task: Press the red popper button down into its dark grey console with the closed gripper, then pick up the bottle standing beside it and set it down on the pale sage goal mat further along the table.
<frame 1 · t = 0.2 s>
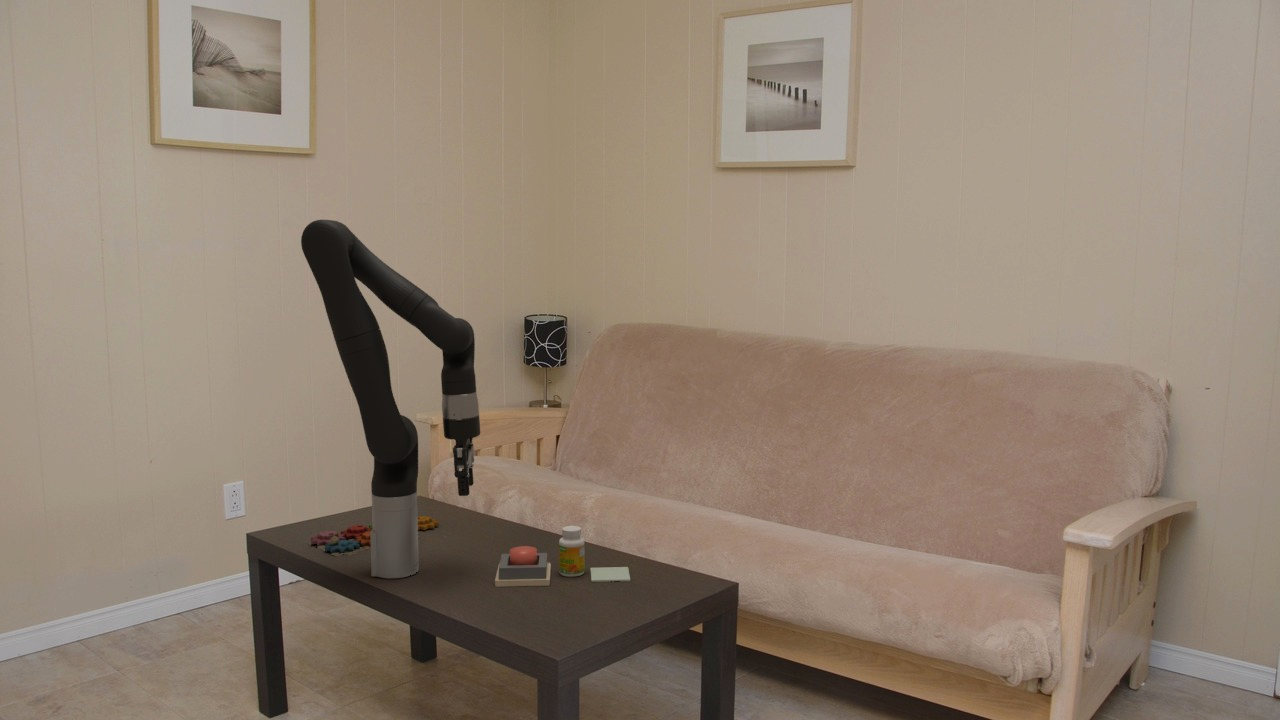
hand: (466, 490, 202), 17 cm above the table, tool pointing down, fingers open, 8 cm apart
dome button: (523, 557, 199), point 4 cm above the table, slide at 0.0 cm
gear puzzle: (382, 540, 228), on the table
supplement bottle: (571, 574, 203), on the table
dome console: (523, 577, 200), on the table
goal mat: (610, 575, 201), on the table
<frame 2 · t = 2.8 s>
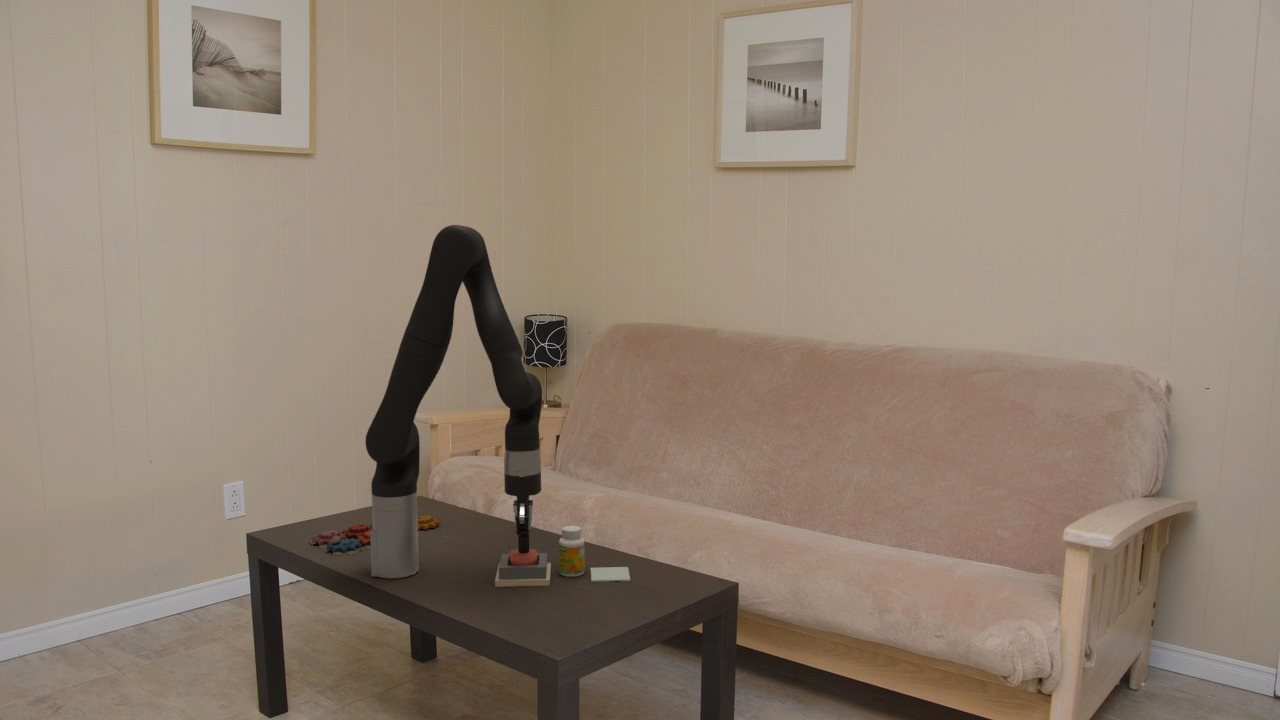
hand: (524, 552, 199), 5 cm above the table, tool pointing down, fingers closed
dome button: (523, 559, 199), point 4 cm above the table, slide at 0.5 cm, touching gripper
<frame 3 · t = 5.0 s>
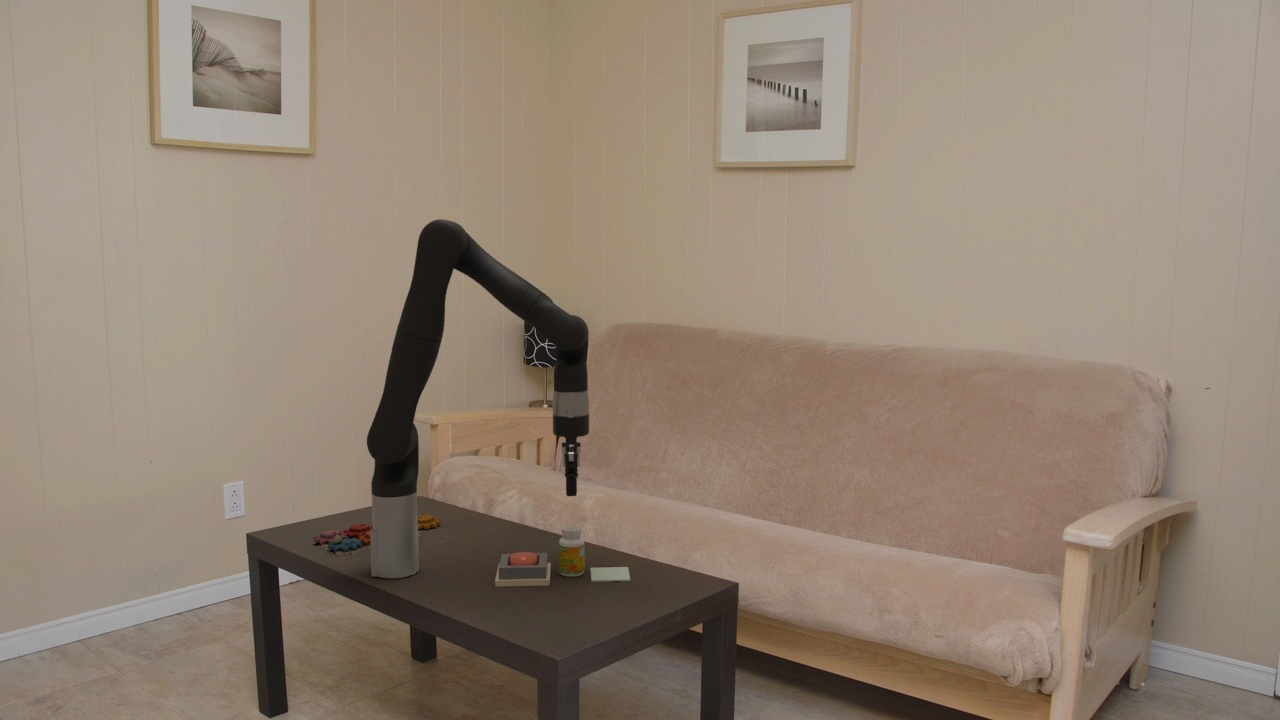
hand: (571, 493, 201), 17 cm above the table, tool pointing down, fingers open, 3 cm apart
dome button: (523, 562, 199), point 3 cm above the table, slide at 1.3 cm
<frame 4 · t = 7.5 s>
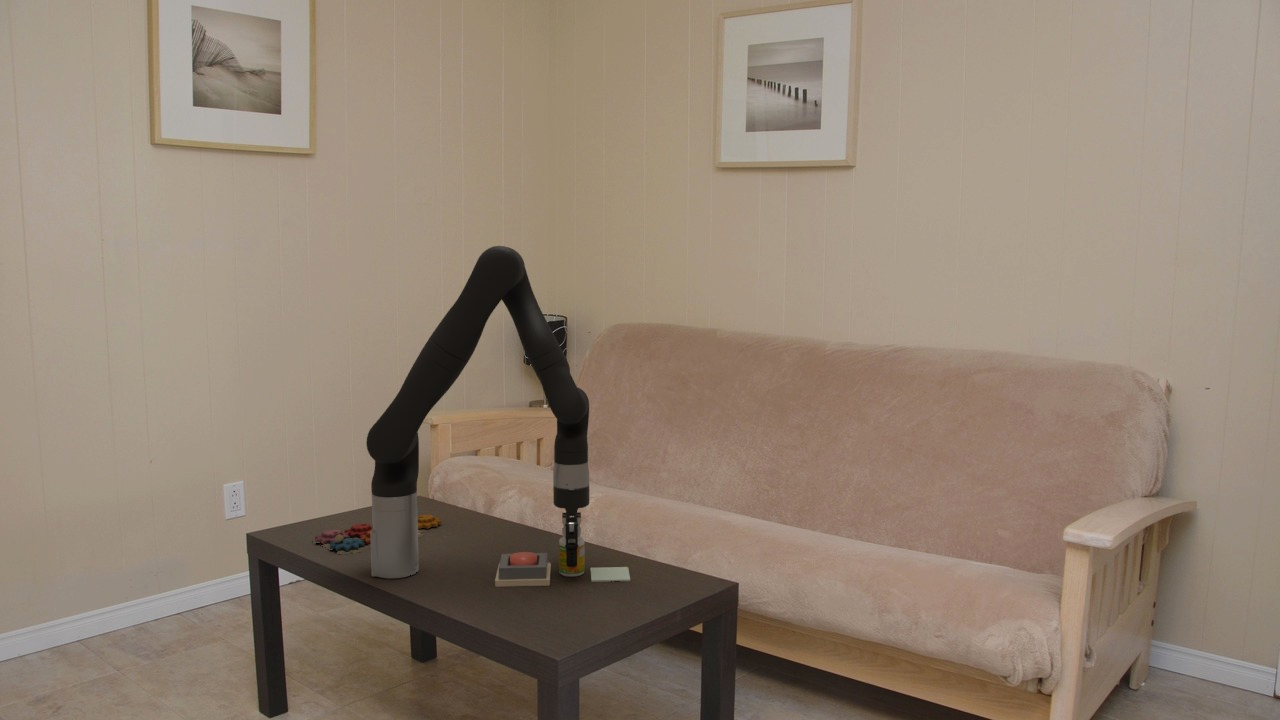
hand: (571, 561, 202), 3 cm above the table, tool pointing down, fingers closed on supplement bottle, 5 cm apart
supplement bottle: (571, 574, 203), on the table, touching gripper
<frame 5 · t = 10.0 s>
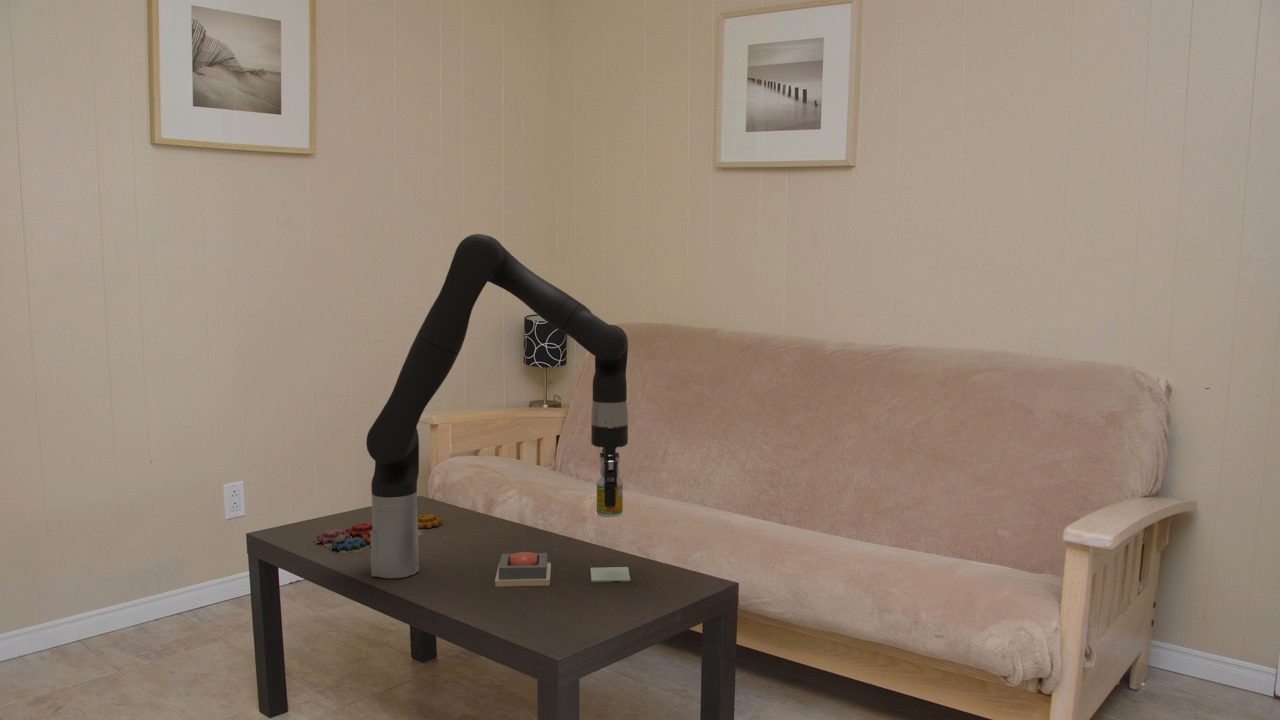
hand: (609, 502, 199), 16 cm above the table, tool pointing down, fingers closed on supplement bottle, 5 cm apart
supplement bottle: (609, 515, 200), point 13 cm above the table, touching gripper
when the fingers open (4 cm above the table, at t = 12.4 s): supplement bottle drops 1 cm, resting on goal mat.
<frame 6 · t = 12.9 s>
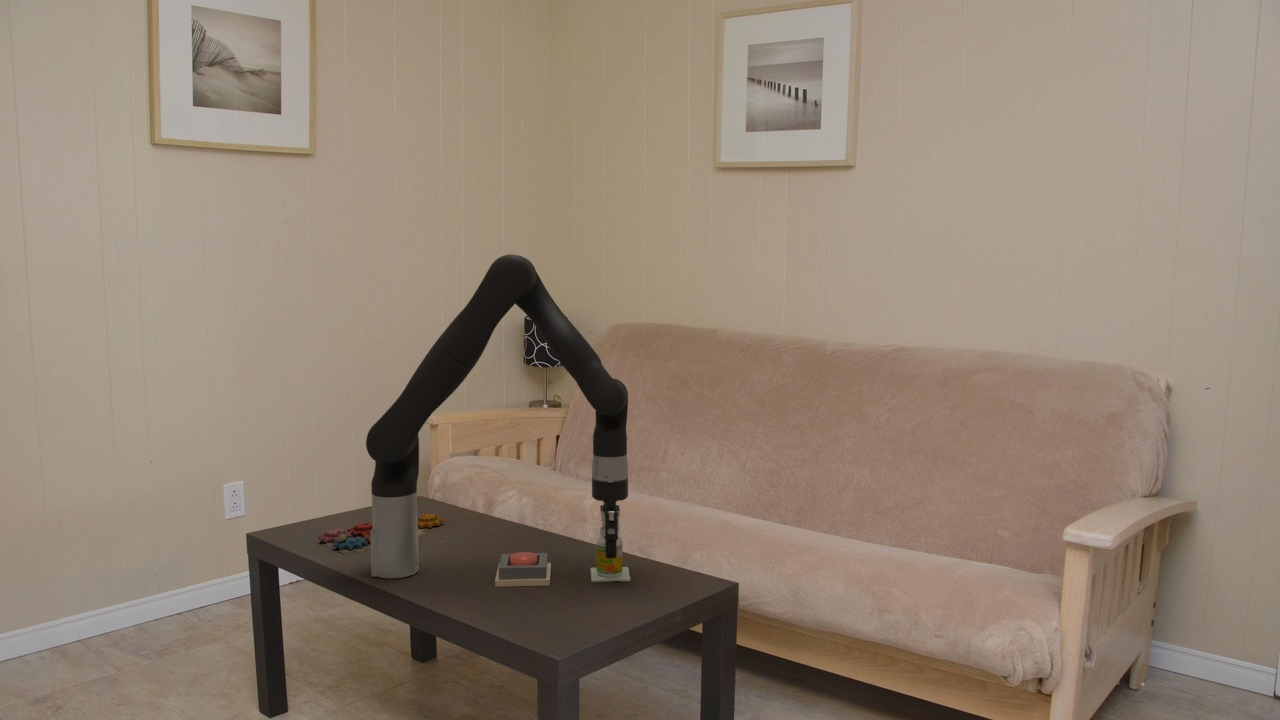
hand: (610, 551, 201), 5 cm above the table, tool pointing down, fingers open, 8 cm apart
supplement bottle: (609, 574, 201), resting on goal mat
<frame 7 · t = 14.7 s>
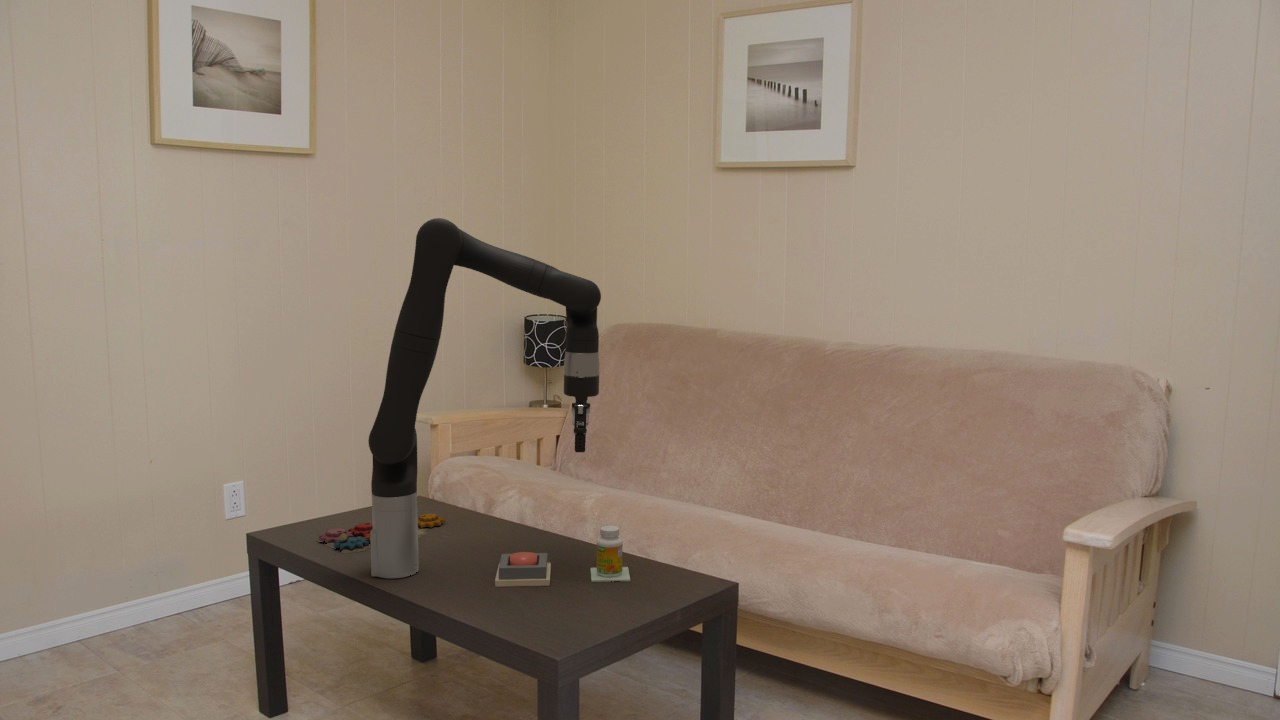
hand: (580, 448, 206), 26 cm above the table, tool pointing down, fingers open, 8 cm apart
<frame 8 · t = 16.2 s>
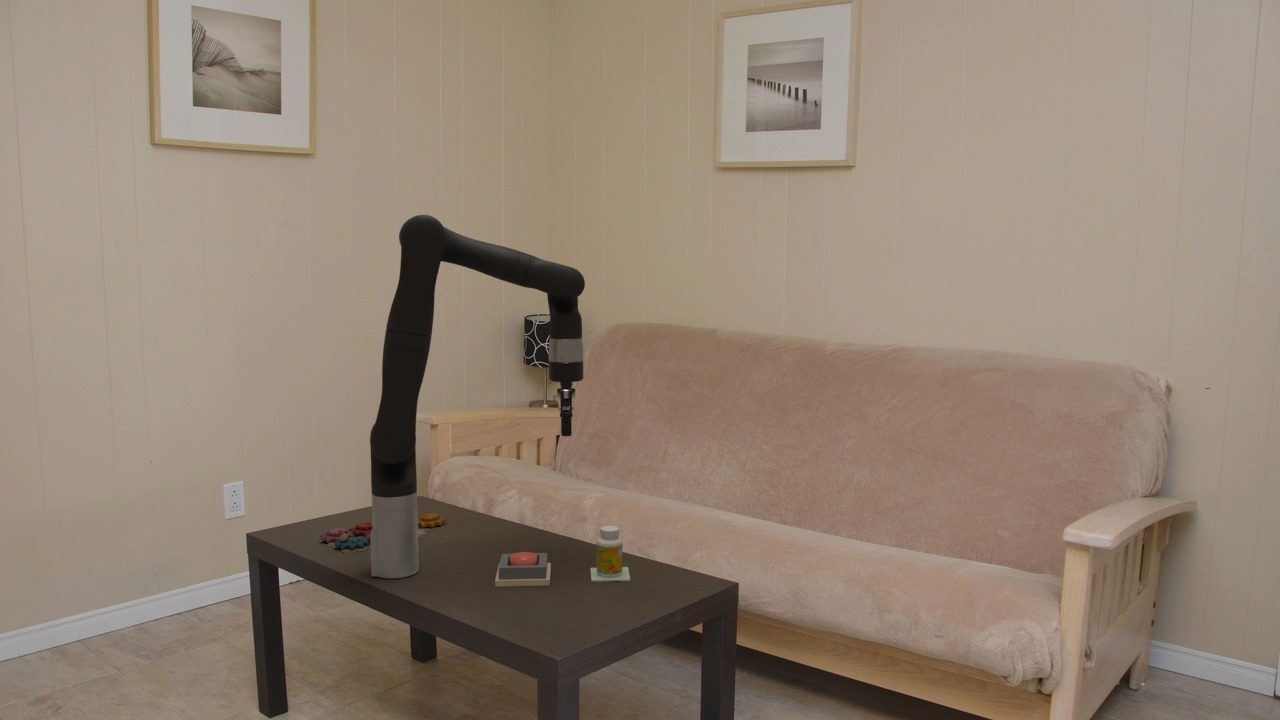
hand: (566, 432, 210), 28 cm above the table, tool pointing down, fingers open, 8 cm apart
at the end: dome button slide at 1.3 cm; supplement bottle 0.1 cm from the goal mat (horizontally); supplement bottle tilted 0° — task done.
